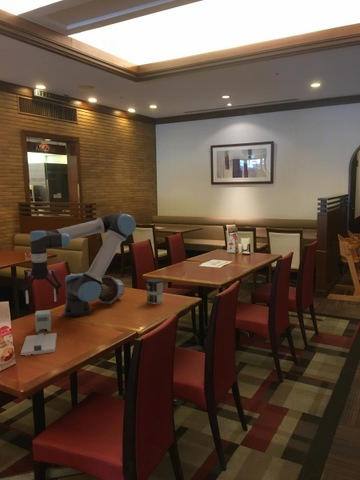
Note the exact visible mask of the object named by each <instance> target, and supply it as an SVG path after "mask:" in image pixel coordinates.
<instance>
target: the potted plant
mask: <svg viewBox="0 0 360 480" xmlns="http://www.w3.org/2000/svg"><path fill="white" fill-rule="evenodd" d="M100 287H101V294H100V296H99V297H98V298H97V299H96V300H98V302H99V303H101V304H106V305H107V304H109V305H111V304H112V303H114V302H115V301H116V300H119V299H120V298H122V296H124V294H125V284H124V283H123V281H122V280H121V279H117V278H114V277H113V276H111V275H105V274H104V275H103V277H102V285H101V286H100Z"/></svg>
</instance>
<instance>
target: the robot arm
mask: <svg viewBox="0 0 360 480" xmlns="http://www.w3.org/2000/svg"><path fill="white" fill-rule="evenodd" d="M136 227H137V224H136V221H135V219H134V216H132V215H130V214H127V213H110V214H107V215H104V216H101V217H97V218H96V219H95V220H90V221H88V222H87V221H86V222H84V223H83V222H82V223H78V224H73V225H71V226H65V227H62V228H57V229H52V230H33V231H30V233H29V243H30V261H31V271H29V270H28V271H27V270H26V271H25V273H24V277H23V279H22V281H21V284H20V286H19V288H18V290H19V291H22V293H23V298H25V304H26V305H28V304H29V291H28V289H29V288H30V286H31V284H32V283H34V281H36V280H37V281H39V280H46V281H47V282H48V283H49V284H50V285H51V286H52V287H53V294H54V295H53V296H54V297H53V298H54V300H53V301H54V302H57V296H58V295H59V288H62V283H61V282H60V280H59V277H57V275H56V273H55V269H51V270H49V269H48V261H47V260H48V255H47V254H48V252H47V251H48V250H49V249H59V248H62V249H63V248H66V247H69V246H70V243H71V240H75V239H79V238H83V237H87V236H91V235H94V234H99V233H100V234H106V233H107V236H106V238H105V240H104V241H103V243H102V245H101V247H100V248H99V251H98V253H97V254H96V256H95V258H94V259H93V261H92V263H91V265H90V267H89V269H88V270H87V271H85V272H81V273H73V274H69V275H66V276H65V279H64V283H65V305H64V309H63V315H64V316H65V317H69V318H79V317H83V316H84V317H85V316H88V315H89V314H91V312H92V311H91V306H90V303H92V302H94V301H96V300H98V299H97V298H98V297H99V296H100V294H101V287H100V286H101V285H102V277H103V275H104V276H105V273H106V271H107V269H108V268H109V266H110V264H111V262H112V261H113V258H114V256H115V255H116V253H117V251H118V249H119V248H120V245H122V242H125V241H126V240H127V238H128V237H129V236H130V235H132V234H133V233H134V232H135V230H136ZM49 274H50V275H51V276H52V277H53V279H54V281H55V282H54V281H53V280H52V279H51V277H49V276H48V275H49ZM30 276H32V278H31V279H30V280H29V281H28V283H27V284H26V285H25V283H26V281H27V279H28V277H30ZM24 286H25V287H24Z"/></svg>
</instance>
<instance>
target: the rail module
mask: <svg viewBox="0 0 360 480" xmlns="http://www.w3.org/2000/svg"><path fill="white" fill-rule="evenodd" d="M51 316H52V315H51V309H45V310H36V311H35V314H34V323H35V333H38V331H42V330H46V331H47V332H51V330H52V318H51Z"/></svg>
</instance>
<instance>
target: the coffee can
mask: <svg viewBox="0 0 360 480" xmlns="http://www.w3.org/2000/svg"><path fill="white" fill-rule="evenodd" d="M163 283H164V280H163V278H158V277H156V278H155V277H153V278H152V277H151V278H148V279H146V302H147V303H148V304H150V303H151V304H153V305H157V304H158V305H159V304H162V303H163V302H164V292H163V291H164V290H163V289H164V285H163ZM151 304H150V305H151Z"/></svg>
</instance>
